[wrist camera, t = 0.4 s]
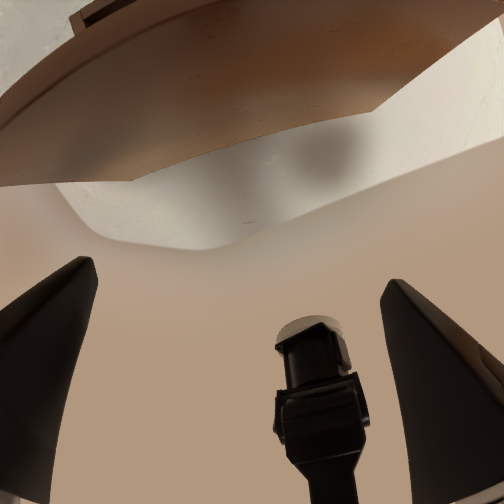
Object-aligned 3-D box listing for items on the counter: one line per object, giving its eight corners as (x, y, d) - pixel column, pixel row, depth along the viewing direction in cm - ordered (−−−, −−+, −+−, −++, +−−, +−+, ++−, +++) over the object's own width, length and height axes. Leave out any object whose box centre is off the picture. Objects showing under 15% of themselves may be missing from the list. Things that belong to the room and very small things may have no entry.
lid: (-59, 167, 4) (-57, 195, 4) (496, -23, 2) (516, 6, 2) (126, 168, 15) (130, 181, 15) (368, 98, 13) (372, 111, 13)
